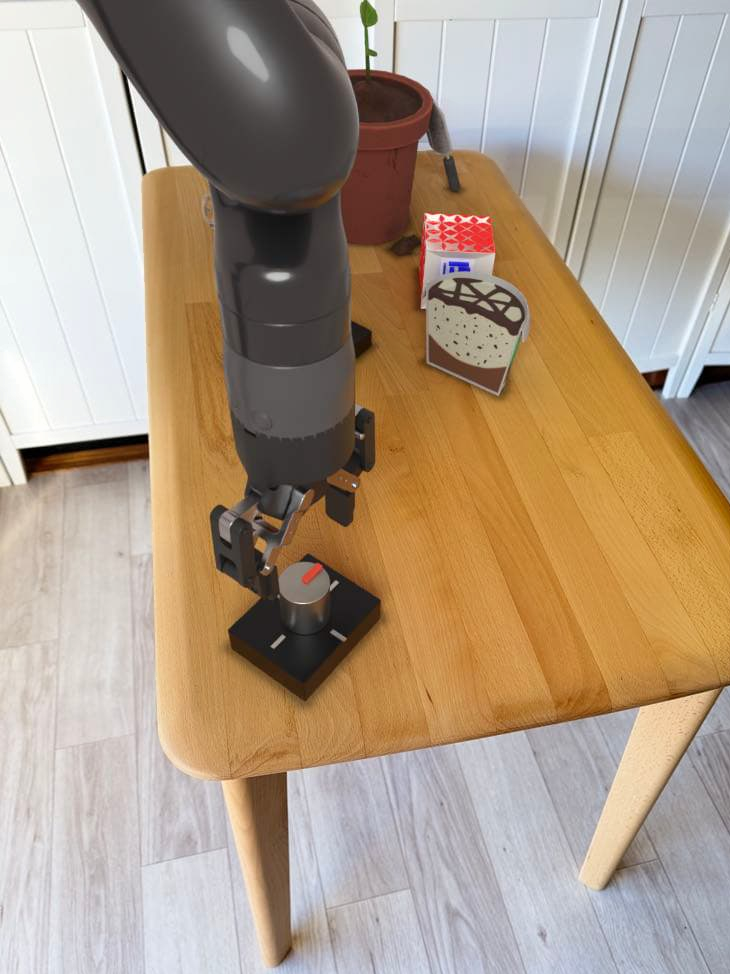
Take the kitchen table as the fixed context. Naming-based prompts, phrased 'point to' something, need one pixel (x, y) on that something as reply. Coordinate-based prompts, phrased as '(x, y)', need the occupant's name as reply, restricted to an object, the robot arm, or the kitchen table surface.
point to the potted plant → (389, 151)
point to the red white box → (455, 246)
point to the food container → (474, 327)
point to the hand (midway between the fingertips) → (303, 554)
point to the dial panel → (305, 656)
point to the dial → (304, 597)
